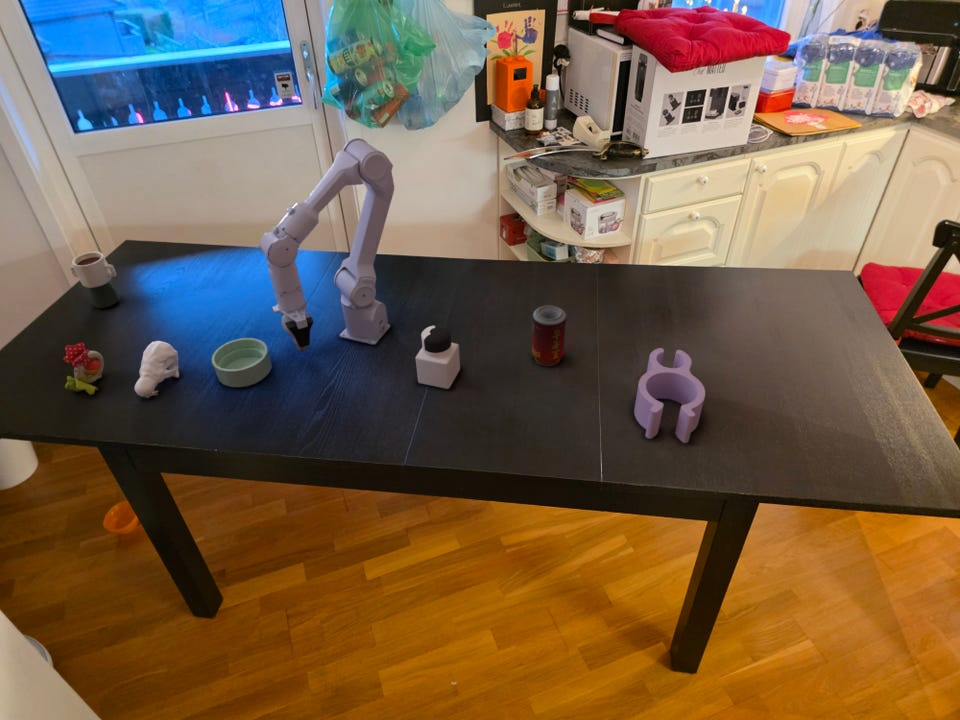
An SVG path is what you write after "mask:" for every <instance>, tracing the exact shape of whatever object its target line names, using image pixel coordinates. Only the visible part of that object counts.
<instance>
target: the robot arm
mask: <svg viewBox="0 0 960 720" xmlns="http://www.w3.org/2000/svg"><path fill="white" fill-rule="evenodd" d="M334 158H335V159H334V161H333V163H332V165H331V166H330V167H329V169H328V170H327V172H326V173H325V175H324V176H323V177H322V179H321V180H320V181H319V183H318V184H317V185H316V186H315V188H314V189H313V190H312V192H311V193H310V194H309V196H308V197H307V198H306V200H305V201H301V202H300V201H299V202H296V203H294V205H293V206H289V207H288V208H287V209H286V212H287V213H286V214H285V215H284V216H283V218H282V219H281V220H280V221H279V223H278V224H277V225H276V226H273V227H272V228H271V230H270V231H267V232H265V233H264V234H263V235H262V237H261V238H260V241H259V242H260V243H259V245H258V248H259V251H260V252H261V253H262V254H263V255H264V256H265V261H266V264H267V268H268V273H269V278H270V281H271V282H270V283H271V285H272V289H273V292H274V296H275V300H276V304H275V305H274V306H272V311H273V313H274V314H281V316H283V315H285V316H287V317H288V318H290V319H292V321H289V322H286V323H285V325H286V327H287V328H288V329H289V331H291V332H292V333H293V335H294V337H295V339H296V341H297V343H298V345H299V346H300V348H302V347H305V346H308V347H309V346H310V342H311V330H312V327H313V325H314V318H313V317H312V316H309V317H308V318H305V316H306V312H307V305H308V303H307V300H306V298H305V295H304V291H303V286H302V282H301V278H300V273H299V270H298V269H299V268H298V265H297V263H296V260H297V257H298V253H299V252H298V251H299V248H300V246H301V244H302V243H303V242H304V241H305V240H306V239H307V237H308V236H309V235H310V234H311V233H312V231H313V230H314V229H315V228H316V227H317V225H318V224H319V223H320V213H321V212H322V211H323V210H324V209H325V208H326V207H327V206H328V205H329V204H330V203H331V201H333V199H334V198H336V197H337V195H338V194H339V193H340V192H341V191H342V190H343V189H344V188H345V187H346V186H357V185H358V186H359V185H364V186H365V188H366V191H365V196H364V200H363V204H362V208H361V211H360V214H359V215H360V216H359V219H358V223H357V227H356V230H355V233H354V238H353V241H352V246H351V249H350V253H349V256H348V257H347V258H344V259H343V260H342V263H341V266H340V267H339V269H338V270H337V271H336V272H335V274H334V277H333V282H334V283H333V284H334V286H335V288H336V289H337V290H339V291H340V293H341V296H340V302H341V303H340V304H341V308H342V313H343V319H344V324H345V329H343V330H342V332H341V333H340V334H339V337H340V338H343V339H346V340H351V341H356V342H359V343H365V344H369V345H373V346H374V345H376V344H377V343H378V342H379V341H380V340H381V338H382V337H383V336H384V335H385V334H386V332H388V330H389V329H390V328H391V325H390V324H389V321H388V313H387V307H386V304H384V303H383V302H381V301H379V300H377V299H376V296H377V288H376V283H377V275H376V270H375V268H374V267H375V266H374V263H375V260H376V256H377V252H378V249H379V246H380V242H381V239H382V235H383V233H384V228H385V226H386V225H385V224H386V220H387V218H388V213H389V211H390V206H391V204H392V199H393V196H394V192H395V183H394V177H393V172H392V171H393V167H394V165H393V163H392V162H391V160H390V158H389V157H388V156H387V155H386V154H385V153H384V152H383V151H381V150H379V149H377V148H376V147H374V146H373V145H371V144H370V143H368V142H367V140H365V139H363V138H359V137H355V138H352V139H349V140H348V141H347V142H346V143H345V145H344V147H343V149H340V150H339V151H338V152H337V153H336V156H335V157H334Z"/></svg>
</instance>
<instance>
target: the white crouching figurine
mask: <svg viewBox="0 0 960 720" xmlns="http://www.w3.org/2000/svg"><path fill="white" fill-rule="evenodd" d="M142 354H143V355H142V359H141V362H140V368H139V371H138V373H139V378H138V379H137V381H136V383H135V385H134V392H135V393H136V395H137V396H139V397H141V398H146V399H149V398H150V397H152V396H157V395H158V389H156V387H157V386H158V384H159V383H160V384H161V383H162V382H163V381H165V379H169V378H171V377H173V378H177V379H178V378H179V377H180V373H179V354H178V351H177V350H176V349H175V348H174V347H173V346H172V345H171V344H170V343H168V342H165V341H161V340H155V341H152V342H150V344H148V345H147V346H146V348H145V350H144V351H143V353H142ZM155 389H156V390H155Z"/></svg>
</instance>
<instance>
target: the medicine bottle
mask: <svg viewBox="0 0 960 720" xmlns="http://www.w3.org/2000/svg"><path fill="white" fill-rule="evenodd" d="M420 337H421V346H422V347H421V348H420V350H419V352H418V353H417V354H416V356H415V366H416V376H417V382H418V384H421V385H427V386H432V387H436V388H440V389H446V390H449V389H450V388H451V386H452V384H453V383H454V381H455V379H456V378H457V376H458V374H459V373H460V370H461V360H460V345H459V343H455V342H452V333H451V331H450V329H449V328H447V327H446V326H444V325H439V324H438V325H437V324H435V325H430V326H428V327H426V328H424V329H423V330H422V332H421V334H420Z"/></svg>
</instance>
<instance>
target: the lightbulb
mask: <svg viewBox="0 0 960 720" xmlns="http://www.w3.org/2000/svg"><path fill="white" fill-rule="evenodd" d="M308 317H310V315H309V313H308V312H307V311H306V316H305V318H308ZM289 321H292V319H290V318H288V317H287V316H285V315H282V317H281V327H282V328H283V330H284V331H285V332H286V334H288V335H290V337H291V338H292V341H293V343H294V345H295V347H296V350H297V351H299V352H305V351H307V350H308V349H309V345H308V346H305V347H302V348H300V346H299V345H298V343H297V341H296V339H295V337H294V335H293V333H292V332H291V331H289V329H288V328H287V327H286V325H285V323H286V322H289Z"/></svg>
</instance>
